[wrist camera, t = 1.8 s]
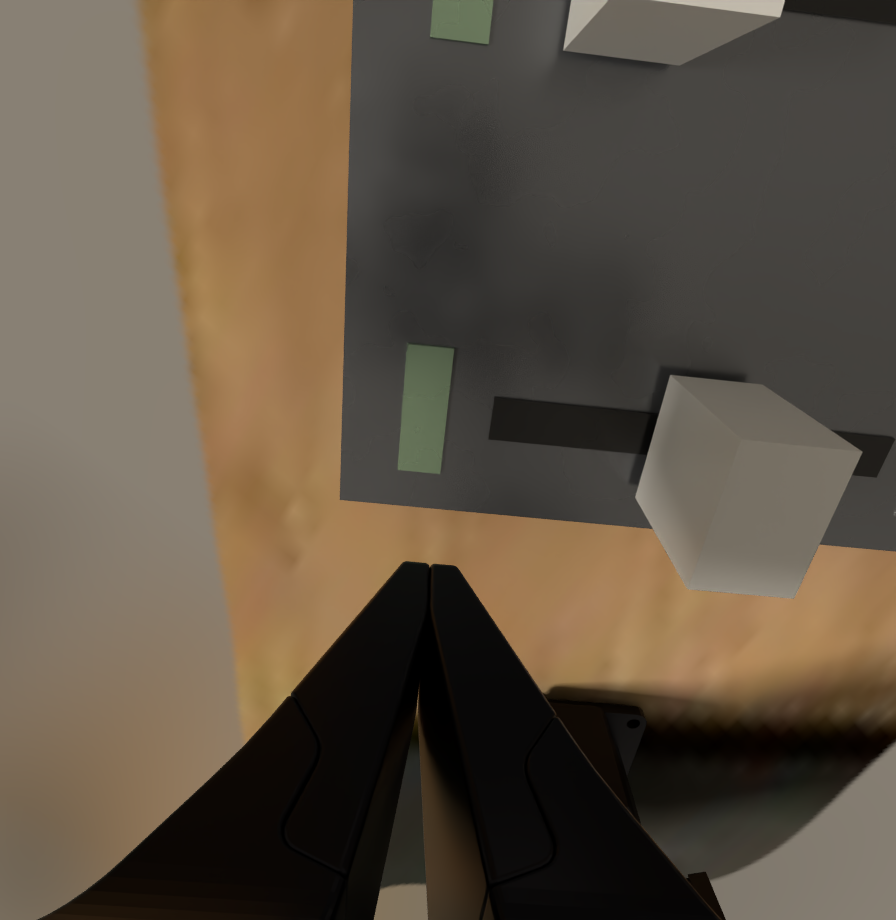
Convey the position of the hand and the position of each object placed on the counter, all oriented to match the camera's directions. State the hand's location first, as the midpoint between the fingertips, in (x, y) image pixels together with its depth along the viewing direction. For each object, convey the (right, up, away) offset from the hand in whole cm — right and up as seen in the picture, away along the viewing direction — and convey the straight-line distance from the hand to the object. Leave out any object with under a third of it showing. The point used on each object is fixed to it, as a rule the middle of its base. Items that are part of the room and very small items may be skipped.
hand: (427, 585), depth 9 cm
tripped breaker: (+7, +2, +6) cm, 10 cm away
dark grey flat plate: (+7, +8, +6) cm, 12 cm away
